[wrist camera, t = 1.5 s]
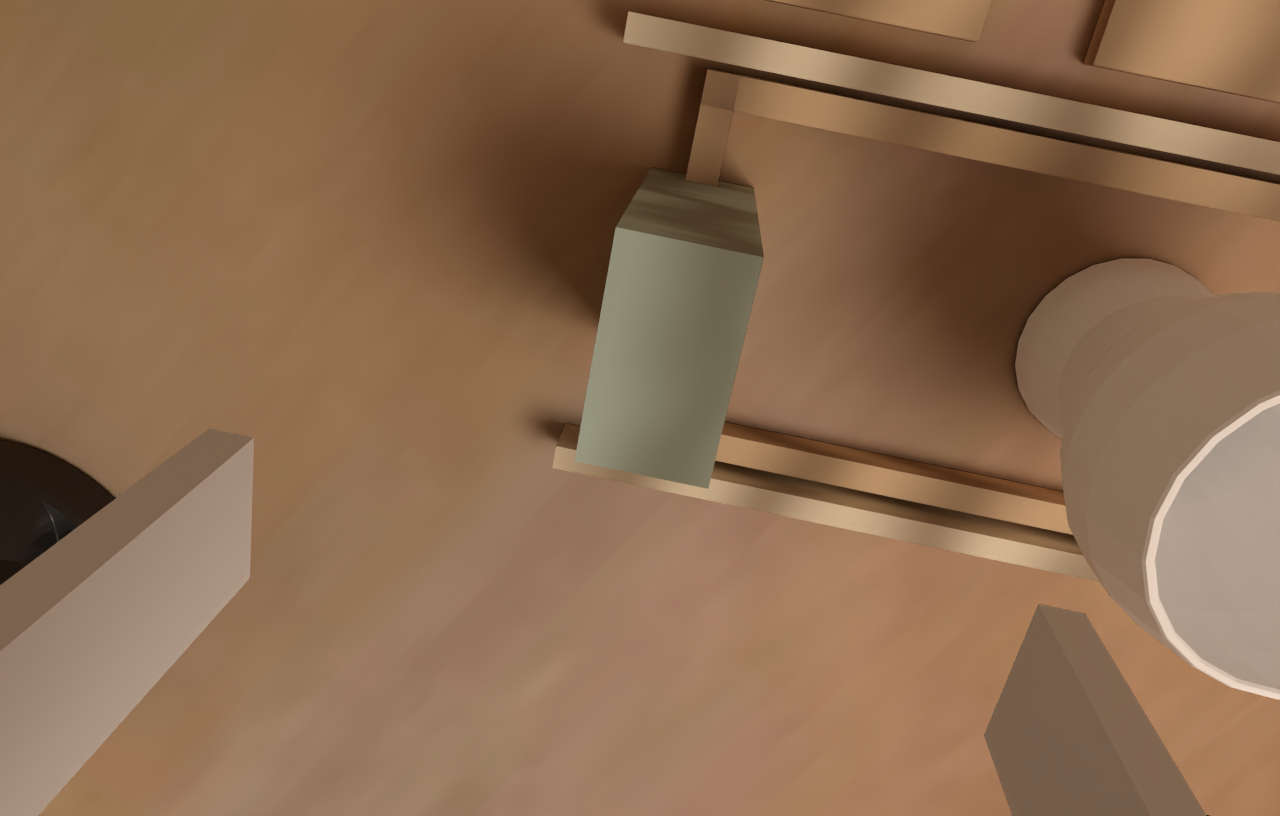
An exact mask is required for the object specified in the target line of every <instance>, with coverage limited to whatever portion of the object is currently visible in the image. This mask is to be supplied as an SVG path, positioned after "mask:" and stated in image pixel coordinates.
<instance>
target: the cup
mask: <svg viewBox="0 0 1280 816" xmlns="http://www.w3.org/2000/svg"><path fill="white" fill-rule="evenodd" d="M1015 370H1016V376H1017V383H1018V389H1019V391H1020V393H1021V395H1022V397H1023V399H1024V401H1025V403H1026V405H1027V407H1028V410H1029V411H1030V412H1031V413H1032V414H1033V415H1034V416H1035V417H1036V418H1037V419H1038V420H1039V421H1040V422H1041V423H1042V424H1043V425H1044V426H1045V427H1046V428H1047V429H1048V430H1050V431H1051V432H1052V433H1054V434H1055V435H1056V436H1057V437H1059V438H1061V439H1062V445H1061V451H1060V458H1061V471H1062V484H1063V492H1064V499H1065V506H1066V513H1067V520H1068V525H1069V527H1070V529H1071V531H1072V533H1073V536H1074V538H1075V540H1076V542H1077V544H1078V546H1079V548H1080V550H1081V552H1082V554H1083V556H1084V558H1085V560H1086V561H1087V563H1088V564H1089V566H1090V567H1091V569H1092V570H1093V572H1094V573H1095V575H1096V576H1097V578H1098V579H1099V581H1100V582H1101V584H1102V585H1103V587H1104V588H1105V590H1106V592H1107V593H1108V595H1109V596H1110V597H1111V598H1112V599H1113V600H1114V601H1115V602H1116V603H1117V604H1118V605H1119V606H1120V607H1121V608H1122V609H1123V610H1124V611H1125V612H1126V613H1127V614H1128V615H1129V616H1130V617H1131V618H1132V619H1133V621H1134V622H1135V623H1136V624H1137V625H1138V626H1140V627H1141V628H1142V629H1144V630H1145V631H1146V632H1148V633H1149V634H1150V635H1152V636H1153V637H1154V638H1155V639H1157V640H1158V641H1159V642H1161V643H1162V644H1163V645H1165V646H1166V647H1167V648H1169V649H1170V650H1171V651H1173V652H1174V653H1175V654H1177V655H1178V656H1179V657H1181V658H1182V659H1183V660H1185V661H1186V662H1187V663H1189V664H1190V665H1191V666H1193V667H1195V668H1197V669H1198V670H1200V671H1202V672H1204V673H1205V674H1207V675H1209V676H1211V677H1213V678H1214V679H1216V680H1218V681H1220V682H1222V683H1223V684H1225V685H1227V686H1229V687H1232V688H1236V689H1240V690H1243V691H1247V692H1251V693H1255V694H1258V695H1262V696H1266V697H1270V698H1274V699H1280V292H1252V293H1227V294H1223V295H1218V296H1214V295H1213V294H1212V293H1211V291H1210V290H1209V289H1207V288H1206V287H1205V286H1204V285H1203V284H1202V283H1201V282H1199V281H1198V280H1197V279H1196V278H1194V277H1193V276H1191V275H1189V274H1188V273H1186V272H1184V271H1183V270H1181V269H1180V268H1178V267H1176V266H1175V265H1171V264H1167V263H1163V262H1160V261H1156V260H1152V259H1127V258H1121V259H1117V260H1113V261H1108V262H1104V263H1100V264H1096V265H1092V266H1090V267H1088V268H1086V269H1084V270H1082V271H1080V272H1078V273H1076V274H1074V275H1072V276H1070V277H1068V278H1067V279H1065V280H1064V281H1063V282H1062V283H1061V284H1059V285H1058V286H1057V287H1056V288H1054V289H1053V290H1052V291H1051V292H1050V293H1048V294H1047V295H1046V296H1045V297H1044V298H1043V300H1042V301H1041V302H1040V304H1039V305H1038V306H1037V307H1036V309H1035V310H1034V311H1033V313H1032V314H1031V315H1030V317H1029V318H1028V320H1027V323H1026V325H1025V327H1024V330H1023V332H1022V334H1021V337H1020V339H1019V341H1018V348H1017V355H1016V362H1015Z"/></svg>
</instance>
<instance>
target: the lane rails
mask: <svg viewBox="0 0 1280 816" xmlns="http://www.w3.org/2000/svg"><path fill="white" fill-rule="evenodd" d="M766 1H771V2H776V3H781V4H786V5H791V6H796V7H801V8H806V9H811V10H816V11H821V12H826V13H831V14H836V15H841V16H846V17H851V18H856V19H861V20H866V21H871V22H876V23H881V24H886V25H891V26H896V27H901V28H906V29H911V30H916V31H921V32H926V33H931V34H936V35H941V36H946V37H951V38H956V39H961V40H966V41H971V42H979V40H980V37H981V34H982V30H983V27H984V24H985V21H986V17H987V14H988V11H989V7H990V4H991V1H992V0H766ZM623 43H628V44H633V45H638V46H643V47H648V48H653V49H658V50H663V51H668V52H673V53H678V54H683V55H688V56H692V57H697V58H702V59H707V60H712V61H717V62H722V63H727V64H732V65H737V66H742V67H747V68H752V69H757V70H762V71H767V72H772V73H777V74H782V75H787V76H792V77H797V78H802V79H807V80H812V81H817V82H822V83H826V84H831V85H836V86H841V87H846V88H851V89H856V90H861V91H866V92H871V93H876V94H881V95H886V96H891V97H896V98H901V99H906V100H911V101H916V102H921V103H926V104H931V105H936V106H941V107H946V108H951V109H956V110H961V111H965V112H970V113H975V114H980V115H985V116H990V117H995V118H1000V119H1005V120H1010V121H1015V122H1020V123H1025V124H1030V125H1035V126H1040V127H1045V128H1050V129H1055V130H1060V131H1065V132H1070V133H1075V134H1080V135H1085V136H1090V137H1095V138H1099V139H1104V140H1109V141H1114V142H1119V143H1124V144H1129V145H1134V146H1139V147H1144V148H1149V149H1154V150H1159V151H1164V152H1169V153H1174V154H1179V155H1184V156H1189V157H1194V158H1199V159H1204V160H1209V161H1214V162H1219V163H1224V164H1229V165H1233V166H1238V167H1243V168H1248V169H1253V170H1258V171H1263V172H1268V173H1273V174H1278V175H1280V142H1276V141H1271V140H1266V139H1261V138H1256V137H1251V136H1246V135H1241V134H1236V133H1231V132H1226V131H1221V130H1216V129H1211V128H1206V127H1201V126H1196V125H1191V124H1186V123H1181V122H1176V121H1171V120H1166V119H1161V118H1156V117H1151V116H1146V115H1141V114H1136V113H1132V112H1127V111H1122V110H1117V109H1112V108H1107V107H1102V106H1097V105H1092V104H1087V103H1082V102H1077V101H1072V100H1067V99H1062V98H1057V97H1052V96H1047V95H1042V94H1037V93H1032V92H1027V91H1022V90H1017V89H1012V88H1007V87H1002V86H997V85H992V84H987V83H982V82H977V81H972V80H967V79H962V78H957V77H952V76H947V75H942V74H937V73H932V72H928V71H923V70H918V69H913V68H908V67H903V66H898V65H893V64H888V63H883V62H878V61H873V60H868V59H863V58H858V57H853V56H848V55H843V54H838V53H833V52H828V51H823V50H818V49H813V48H808V47H803V46H798V45H793V44H788V43H783V42H778V41H773V40H768V39H763V38H758V37H753V36H748V35H743V34H738V33H733V32H729V31H724V30H719V29H714V28H709V27H704V26H699V25H694V24H689V23H684V22H679V21H674V20H669V19H664V18H659V17H654V16H649V15H644V14H639V13H634V12H629V11H628V16H627V22H626V28H625V34H624V40H623ZM1083 64H1086V65H1091V66H1096V67H1101V68H1106V69H1111V70H1116V71H1121V72H1126V73H1131V74H1136V75H1141V76H1146V77H1151V78H1156V79H1161V80H1166V81H1171V82H1176V83H1181V84H1186V85H1191V86H1196V87H1201V88H1206V89H1211V90H1216V91H1221V92H1226V93H1231V94H1235V95H1240V96H1245V97H1250V98H1255V99H1260V100H1265V101H1270V102H1275V103H1280V0H1105V2H1104V5H1103V8H1102V11H1101V14H1100V17H1099V19H1098V22H1097V25H1096V28H1095V31H1094V34H1093V37H1092V40H1091V43H1090V46H1089V48H1088V51H1087V54H1086V57H1085V60H1084V63H1083ZM580 427H581V426H576V425H571V424H567V423H566V424H565V426H564V428H563V431H562V433H561V435H560V438H559V440H558V443H557V445H556V449H555V455H554V461H553V467H552V468H555V469H560V470H565V471H570V472H575V473H579V474H584V475H589V476H594V477H599V478H603V479H608V480H613V481H618V482H623V483H627V484H632V485H637V486H642V487H647V488H651V489H656V490H661V491H666V492H671V493H676V494H680V495H685V496H690V497H695V498H700V499H704V500H709V501H714V502H719V503H724V504H728V505H733V506H738V507H743V508H748V509H752V510H757V511H762V512H767V513H772V514H776V515H781V516H786V517H791V518H796V519H800V520H805V521H810V522H815V523H820V524H824V525H829V526H834V527H839V528H844V529H849V530H853V531H858V532H863V533H868V534H873V535H877V536H882V537H887V538H892V539H897V540H901V541H906V542H911V543H916V544H921V545H925V546H930V547H935V548H940V549H945V550H949V551H954V552H959V553H964V554H969V555H973V556H978V557H983V558H988V559H993V560H997V561H1002V562H1007V563H1012V564H1017V565H1022V566H1026V567H1031V568H1036V569H1041V570H1046V571H1050V572H1055V573H1060V574H1065V575H1070V576H1074V577H1079V578H1084V579H1089V580H1094V581H1098V582H1100V581H1099V579H1098V578H1097V576H1096V575H1095V573H1094V572H1093V570H1092V569H1091V567H1090V566H1089V564H1088V563H1087V561H1086V560H1085V558H1084V556H1083V554H1082V552H1081V550H1080V548H1079V546H1078V544H1077V542H1076V540H1075V538H1074V536H1073V535H1071V534H1067V533H1062V532H1057V531H1052V530H1047V529H1042V528H1038V527H1033V526H1028V525H1023V524H1018V523H1014V522H1009V521H1004V520H999V519H994V518H989V517H985V516H980V515H975V514H970V513H965V512H960V511H956V510H951V509H946V508H941V507H936V506H932V505H927V504H922V503H917V502H912V501H907V500H903V499H898V498H893V497H888V496H883V495H879V494H874V493H869V492H864V491H859V490H854V489H850V488H845V487H840V486H835V485H830V484H826V483H821V482H816V481H811V480H806V479H801V478H797V477H792V476H787V475H782V474H777V473H773V472H768V471H763V470H758V469H753V468H748V467H744V466H739V465H734V464H729V463H724V462H720V461H715V463H714V467H713V471H712V475H711V480H710V484H709V488H708V489H706V488H701V487H697V486H692V485H687V484H682V483H677V482H673V481H668V480H663V479H658V478H653V477H649V476H644V475H639V474H634V473H629V472H624V471H620V470H615V469H610V468H605V467H600V466H596V465H591V464H586V463H581V462H576V461H575V455H576V450H577V444H578V438H579V433H580Z"/></svg>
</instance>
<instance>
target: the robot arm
mask: <svg viewBox="0 0 1280 816" xmlns="http://www.w3.org/2000/svg"><path fill="white" fill-rule="evenodd" d="M253 453H254V438H252V437H247V436H242V435H237V434H233V433H228V432H223V431H218V430H214V429H208V430H206V431H205V432H204V433H202V434H201V435H200V436H198V437H197V438H196V439H194V440H193V441H192V442H190V443H189V444H188V445H186V446H185V447H184V448H182V449H181V450H180V451H178V452H177V453H176V454H174V455H173V456H172V457H170V458H169V459H168V460H166V461H165V462H164V463H162V464H161V465H160V466H158V467H157V468H156V469H154V470H153V471H152V472H150V473H149V474H148V475H146V476H145V477H144V478H142V479H141V480H140V481H138V482H137V483H136V484H134V485H133V486H132V487H130V488H129V489H128V490H126V491H125V492H124V493H122V494H121V495H120V496H118V497H117V498H116V499H114V498H113V497H112V496H111V495H110V494H109V493H108V492H107V491H105V490H104V489H103V488H102V487H101V486H99V485H98V484H97V483H96V482H94V481H93V480H92V479H90V478H89V477H87V476H86V475H85V474H83V473H82V472H80V471H79V470H77V469H75V468H74V467H72V466H70V465H69V464H67V463H65V462H63V461H61V460H59V459H57V458H55V457H53V456H51V455H49V454H46V453H44V452H41V451H39V450H36V449H34V448H31V447H27V446H24V445H21V444H17V443H13V442H9V441H4V440H0V816H38V815H39V814H40V813H41V812H42V811H43V810H44V809H45V807H46V806H47V805H48V804H49V803H50V802H51V801H52V800H53V798H54V797H55V796H56V795H57V794H58V793H59V792H60V791H61V789H62V788H63V787H64V786H65V785H66V784H67V783H68V782H69V780H70V779H71V778H72V777H73V776H74V775H75V774H76V773H77V771H78V770H79V769H80V768H81V767H82V766H83V765H84V764H85V762H86V761H87V760H88V759H89V758H90V757H91V756H92V755H93V754H94V752H95V751H96V750H97V749H98V748H99V747H100V746H101V745H102V743H103V742H104V741H105V740H106V739H107V738H108V737H109V736H110V734H111V733H112V732H113V731H114V730H115V729H116V728H117V727H118V725H119V724H120V723H121V722H122V721H123V720H124V719H125V718H126V716H127V715H128V714H129V713H130V712H131V711H132V710H133V709H134V707H135V706H136V705H137V704H138V703H139V702H140V701H141V700H142V698H143V697H144V696H145V695H146V694H147V693H148V692H149V691H150V690H151V688H152V687H153V686H154V685H155V684H156V683H157V682H158V681H159V679H160V678H161V677H162V676H163V675H164V674H165V673H166V672H167V670H168V669H169V668H170V667H171V666H172V665H173V664H174V663H175V661H176V660H177V659H178V658H179V657H180V656H181V655H182V654H183V652H184V651H185V650H186V649H187V648H188V647H189V646H190V645H191V643H192V642H193V641H194V640H195V639H196V638H197V637H198V636H199V635H200V633H201V632H202V631H203V630H204V629H205V628H206V627H207V626H208V624H209V623H210V622H211V621H212V620H213V619H214V618H215V617H216V615H217V614H218V613H219V612H220V611H221V610H222V609H223V608H224V606H225V605H226V604H227V603H228V602H229V601H230V600H231V599H232V597H233V596H234V595H235V594H236V593H237V592H238V591H239V590H240V588H241V587H242V586H243V585H244V584H245V583H246V582H247V581H248V579H249V578H250V556H251V522H252V487H253ZM984 737H985V739H986V742H987V745H988V748H989V751H990V754H991V756H992V759H993V762H994V765H995V768H996V771H997V773H998V776H999V779H1000V782H1001V785H1002V788H1003V790H1004V793H1005V796H1006V799H1007V802H1008V805H1009V807H1010V810H1011V813H1012V816H1209V815H1206V814H1205V812H1204V810H1203V809H1202V807H1201V805H1200V804H1199V802H1198V801H1197V799H1196V797H1195V796H1194V794H1193V792H1192V791H1191V789H1190V787H1189V786H1188V784H1187V782H1186V781H1185V779H1184V777H1183V776H1182V774H1181V772H1180V771H1179V769H1178V767H1177V766H1176V764H1175V762H1174V761H1173V759H1172V757H1171V756H1170V754H1169V752H1168V751H1167V749H1166V747H1165V746H1164V744H1163V742H1162V741H1161V739H1160V737H1159V736H1158V734H1157V732H1156V731H1155V729H1154V727H1153V726H1152V724H1151V722H1150V721H1149V719H1148V717H1147V716H1146V714H1145V712H1144V711H1143V709H1142V707H1141V706H1140V704H1139V702H1138V701H1137V699H1136V697H1135V696H1134V694H1133V692H1132V691H1131V689H1130V687H1129V686H1128V684H1127V682H1126V681H1125V679H1124V677H1123V676H1122V674H1121V672H1120V671H1119V669H1118V667H1117V666H1116V664H1115V662H1114V661H1113V659H1112V657H1111V656H1110V654H1109V652H1108V651H1107V649H1106V647H1105V646H1104V644H1103V642H1102V641H1101V639H1100V637H1099V636H1098V634H1097V633H1096V631H1095V629H1094V628H1093V626H1092V624H1091V623H1090V621H1089V619H1088V618H1087V616H1086V614H1084V613H1080V612H1075V611H1070V610H1065V609H1061V608H1056V607H1051V606H1047V605H1042V604H1038V607H1037V609H1036V611H1035V614H1034V616H1033V619H1032V621H1031V623H1030V626H1029V628H1028V631H1027V633H1026V635H1025V638H1024V640H1023V643H1022V645H1021V647H1020V650H1019V652H1018V655H1017V657H1016V659H1015V662H1014V664H1013V667H1012V669H1011V671H1010V674H1009V676H1008V679H1007V681H1006V683H1005V686H1004V688H1003V691H1002V693H1001V695H1000V698H999V700H998V703H997V705H996V707H995V710H994V712H993V715H992V717H991V720H990V722H989V724H988V727H987V729H986V732H985V734H984Z"/></svg>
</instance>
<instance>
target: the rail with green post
mask: <svg viewBox="0 0 1280 816" xmlns="http://www.w3.org/2000/svg"><path fill="white" fill-rule="evenodd" d="M733 111H735V112H740V113H745V114H750V115H755V116H760V117H765V118H770V119H775V120H780V121H785V122H790V123H795V124H800V125H805V126H810V127H815V128H820V129H824V130H829V131H834V132H839V133H844V134H849V135H854V136H859V137H864V138H869V139H874V140H879V141H884V142H889V143H894V144H899V145H904V146H909V147H914V148H918V149H923V150H928V151H933V152H938V153H943V154H948V155H953V156H958V157H963V158H968V159H973V160H978V161H983V162H988V163H993V164H998V165H1003V166H1008V167H1012V168H1017V169H1022V170H1027V171H1032V172H1037V173H1042V174H1047V175H1052V176H1057V177H1062V178H1067V179H1072V180H1077V181H1082V182H1087V183H1092V184H1097V185H1101V186H1106V187H1111V188H1116V189H1121V190H1126V191H1131V192H1136V193H1141V194H1146V195H1151V196H1156V197H1161V198H1166V199H1171V200H1176V201H1181V202H1186V203H1191V204H1195V205H1200V206H1205V207H1210V208H1215V209H1220V210H1225V211H1230V212H1235V213H1240V214H1245V215H1250V216H1255V217H1260V218H1265V219H1270V220H1275V221H1280V183H1276V182H1271V181H1266V180H1261V179H1256V178H1251V177H1246V176H1241V175H1236V174H1231V173H1226V172H1221V171H1216V170H1211V169H1206V168H1202V167H1197V166H1192V165H1187V164H1182V163H1177V162H1172V161H1167V160H1162V159H1157V158H1152V157H1147V156H1142V155H1137V154H1132V153H1127V152H1122V151H1117V150H1112V149H1107V148H1102V147H1097V146H1092V145H1087V144H1082V143H1078V142H1073V141H1068V140H1063V139H1058V138H1053V137H1048V136H1043V135H1038V134H1033V133H1028V132H1023V131H1018V130H1013V129H1008V128H1003V127H998V126H993V125H988V124H983V123H978V122H973V121H968V120H963V119H958V118H954V117H949V116H944V115H939V114H934V113H929V112H924V111H919V110H914V109H909V108H904V107H899V106H894V105H889V104H884V103H879V102H874V101H869V100H864V99H859V98H854V97H849V96H844V95H839V94H834V93H830V92H825V91H820V90H815V89H810V88H805V87H800V86H795V85H790V84H785V83H780V82H775V81H770V80H765V79H760V78H755V77H750V76H745V75H740V74H735V73H730V72H725V71H720V70H715V69H710V68H708V70H707V75H706V80H705V85H704V90H703V95H702V100H701V105H700V110H699V115H698V120H697V125H696V129H695V134H694V139H693V144H692V149H691V154H690V159H689V164H688V169H687V174H682V173H677V172H672V171H667V170H663V169H658V168H653V167H651V168H650V170H649V172H648V173H647V175H646V177H645V179H644V180H643V182H642V184H641V185H640V187H639V189H638V190H637V192H636V194H635V195H634V197H633V199H632V200H631V202H630V204H629V206H628V207H627V209H626V211H625V212H624V214H623V216H622V217H621V219H620V221H619V222H618V224H617V226H616V228H615V234H614V240H613V245H612V251H611V257H610V262H609V268H608V274H607V279H606V285H605V291H604V296H603V302H602V308H601V313H600V319H599V325H598V330H597V336H596V342H595V348H594V353H593V359H592V365H591V370H590V376H589V382H588V387H587V393H586V399H585V404H584V410H583V416H582V421H581V427H580V433H579V438H578V444H577V450H576V455H575V461H576V462H581V463H586V464H591V465H596V466H600V467H605V468H610V469H615V470H620V471H624V472H629V473H634V474H639V475H644V476H649V477H653V478H658V479H663V480H668V481H673V482H677V483H682V484H687V485H692V486H697V487H701V488H706V489H708V488H709V484H710V480H711V475H712V471H713V467H714V463H715V461H720V462H724V463H729V464H734V465H739V466H744V467H748V468H753V469H758V470H763V471H768V472H773V473H777V474H782V475H787V476H792V477H797V478H801V479H806V480H811V481H816V482H821V483H826V484H830V485H835V486H840V487H845V488H850V489H854V490H859V491H864V492H869V493H874V494H879V495H883V496H888V497H893V498H898V499H903V500H907V501H912V502H917V503H922V504H927V505H932V506H936V507H941V508H946V509H951V510H956V511H960V512H965V513H970V514H975V515H980V516H985V517H989V518H994V519H999V520H1004V521H1009V522H1014V523H1018V524H1023V525H1028V526H1033V527H1038V528H1042V529H1047V530H1052V531H1057V532H1062V533H1067V534H1071V535H1073V533H1072V531H1071V529H1070V527H1069V525H1068V520H1067V513H1066V506H1065V499H1064V492H1061V491H1056V490H1051V489H1046V488H1041V487H1036V486H1032V485H1027V484H1022V483H1017V482H1012V481H1007V480H1003V479H998V478H993V477H988V476H983V475H978V474H974V473H969V472H964V471H959V470H954V469H949V468H945V467H940V466H935V465H930V464H925V463H920V462H916V461H911V460H906V459H901V458H896V457H891V456H887V455H882V454H877V453H872V452H867V451H862V450H858V449H853V448H848V447H843V446H838V445H833V444H829V443H824V442H819V441H814V440H809V439H804V438H800V437H795V436H790V435H785V434H780V433H775V432H771V431H766V430H761V429H756V428H751V427H746V426H742V425H737V424H732V423H727V422H724V421H725V417H726V413H727V409H728V405H729V400H730V396H731V392H732V388H733V384H734V380H735V375H736V371H737V367H738V363H739V359H740V355H741V350H742V346H743V342H744V338H745V334H746V330H747V325H748V321H749V317H750V313H751V309H752V305H753V300H754V296H755V292H756V288H757V284H758V280H759V275H760V271H761V267H762V263H763V259H764V255H763V248H762V241H761V235H760V228H759V221H758V214H757V207H756V201H755V194H754V188H751V187H746V186H741V185H736V184H731V183H726V182H722V181H719V176H720V171H721V167H722V162H723V157H724V153H725V148H726V143H727V139H728V134H729V129H730V125H731V120H732V115H733Z"/></svg>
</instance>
